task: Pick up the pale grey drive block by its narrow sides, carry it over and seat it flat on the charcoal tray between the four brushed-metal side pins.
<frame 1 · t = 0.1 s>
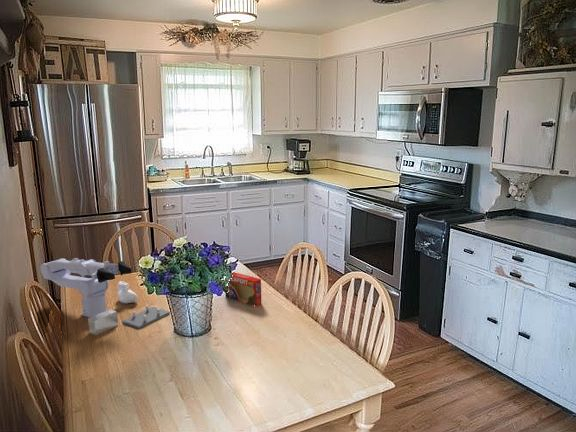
hand: (122, 273, 174), 22 cm above the table, tool horizontal, fingers open, 7 cm apart
toy box: (243, 301, 201), on the table
drive: (104, 329, 175), on the table
pin tray: (146, 318, 184), on the table
bust: (127, 302, 201), on the table
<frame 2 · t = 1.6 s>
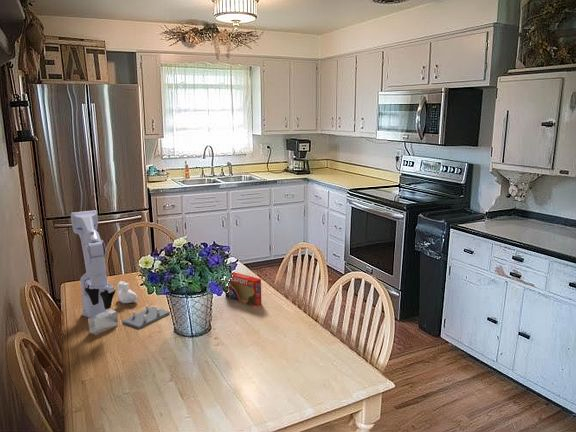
hand: (101, 306, 173), 9 cm above the table, tool pointing down, fingers open, 7 cm apart
nothing on the table moved.
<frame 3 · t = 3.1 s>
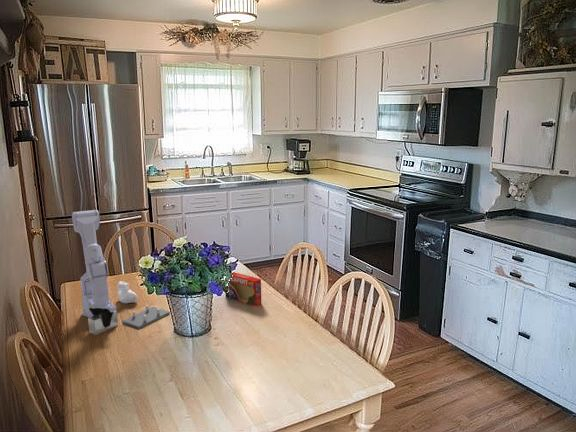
hand: (103, 324, 175), 2 cm above the table, tool pointing down, fingers closed on drive, 4 cm apart
drive: (104, 328, 175), on the table, touching gripper
everything else where it was.
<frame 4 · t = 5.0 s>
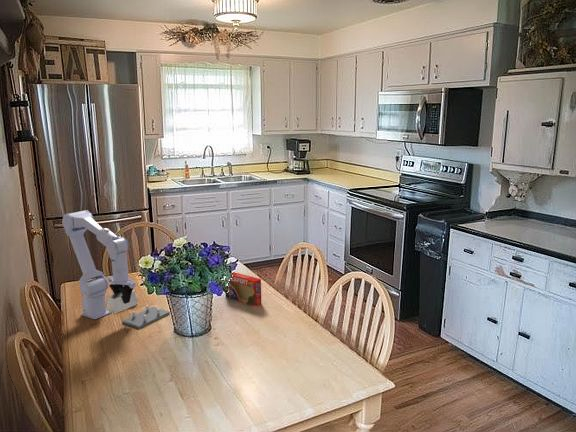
hand: (123, 301, 177), 9 cm above the table, tool pointing down, fingers closed on drive, 4 cm apart
drive: (122, 307, 178), point 7 cm above the table, touching gripper
everything else where it was.
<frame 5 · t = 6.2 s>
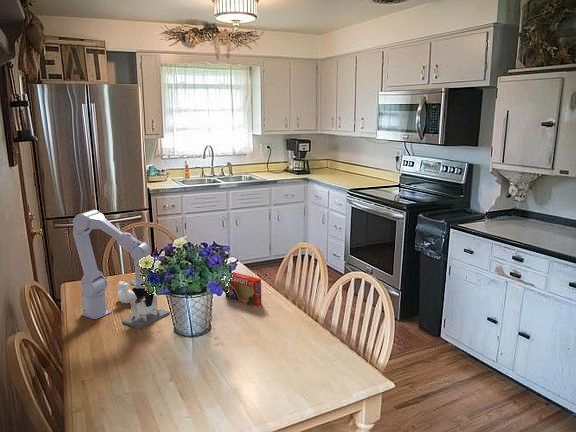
hand: (145, 304, 183), 6 cm above the table, tool pointing down, fingers closed on drive, 4 cm apart
drive: (145, 311, 183), point 3 cm above the table, touching gripper
everything else where it was.
when the fingers open (4 cm above the table, at t = 7.0 s): drive stays where it is, resting on pin tray.
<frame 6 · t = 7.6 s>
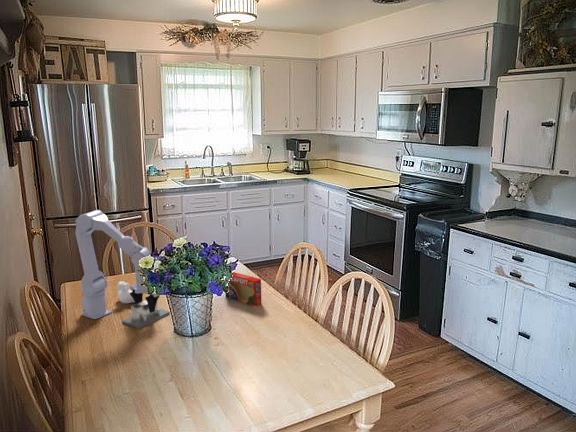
hand: (145, 309, 183), 4 cm above the table, tool pointing down, fingers open, 7 cm apart
drive: (145, 316, 183), point 1 cm above the table, touching pin tray
everything else where it was.
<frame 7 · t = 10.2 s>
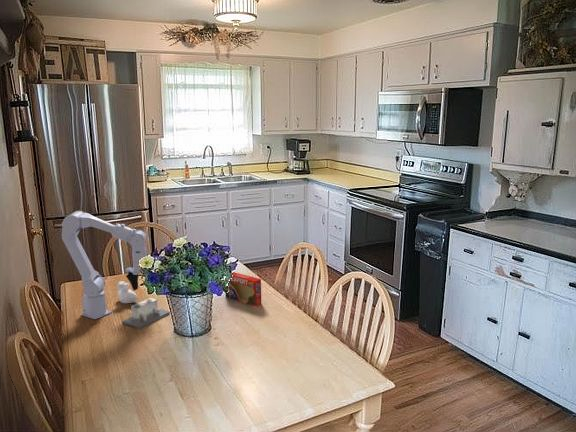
hand: (142, 290, 188), 9 cm above the table, tool pointing down, fingers open, 7 cm apart
nothing on the table moved.
at the end: drive 0.6 cm off-centre on the pin tray, point 1.0 cm above the pin tray's base; drive tilted 0°; the gripper is holding nothing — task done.
